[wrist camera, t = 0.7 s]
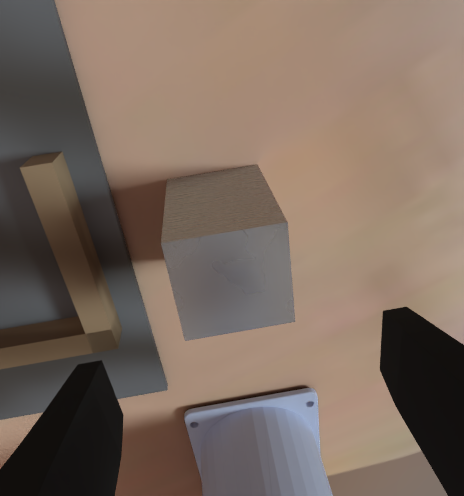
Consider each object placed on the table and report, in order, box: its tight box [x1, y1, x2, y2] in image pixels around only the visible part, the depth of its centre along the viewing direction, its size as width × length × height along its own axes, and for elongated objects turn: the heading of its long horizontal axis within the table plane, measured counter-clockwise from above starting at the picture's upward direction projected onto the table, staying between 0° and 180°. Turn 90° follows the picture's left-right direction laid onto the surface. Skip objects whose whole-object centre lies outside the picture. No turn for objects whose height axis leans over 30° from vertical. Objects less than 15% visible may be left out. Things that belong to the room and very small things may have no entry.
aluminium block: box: [161, 165, 295, 341], centre depth 17 cm, size 4×4×6 cm
